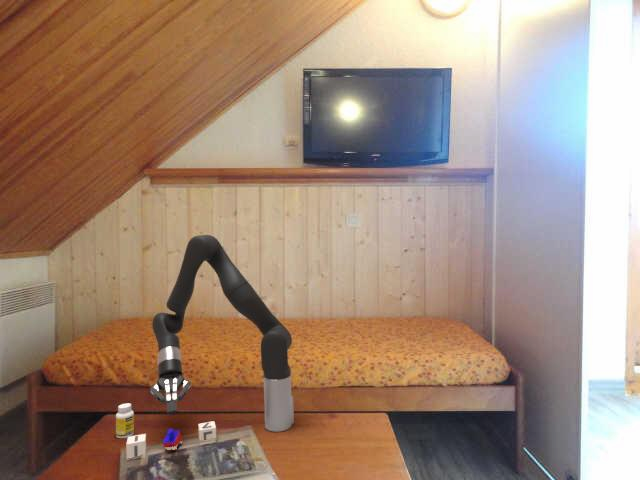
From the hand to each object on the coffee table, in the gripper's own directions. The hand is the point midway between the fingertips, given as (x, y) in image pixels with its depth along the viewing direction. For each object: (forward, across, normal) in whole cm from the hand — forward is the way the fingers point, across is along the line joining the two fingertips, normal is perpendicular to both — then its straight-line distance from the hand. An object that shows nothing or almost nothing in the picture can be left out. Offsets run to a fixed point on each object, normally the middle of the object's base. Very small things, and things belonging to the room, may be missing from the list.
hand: (172, 413), depth 124 cm
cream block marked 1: (+8, -10, +8) cm, 15 cm away
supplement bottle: (-4, -14, +19) cm, 24 cm away
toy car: (+8, 0, +7) cm, 11 cm away
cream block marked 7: (+8, +10, +7) cm, 15 cm away
